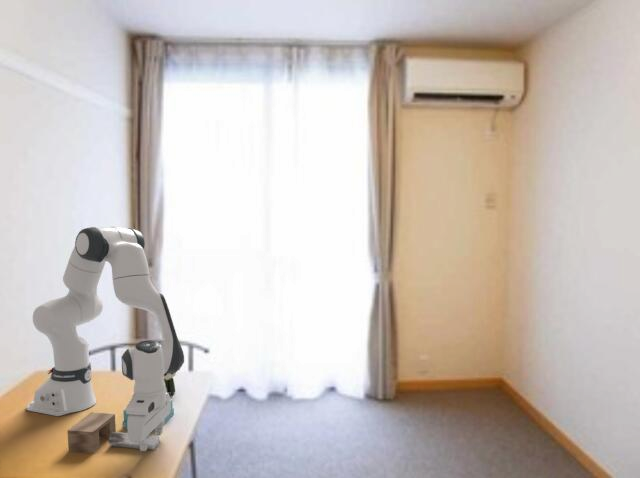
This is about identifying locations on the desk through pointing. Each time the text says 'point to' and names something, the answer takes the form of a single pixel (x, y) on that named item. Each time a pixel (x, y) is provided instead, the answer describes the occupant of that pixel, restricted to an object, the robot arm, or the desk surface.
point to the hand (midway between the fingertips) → (151, 441)
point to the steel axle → (123, 441)
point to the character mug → (169, 382)
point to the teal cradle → (124, 425)
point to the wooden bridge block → (90, 432)
